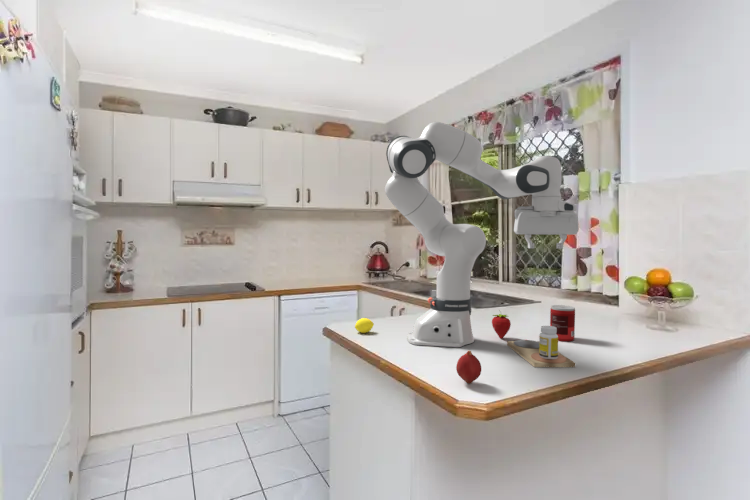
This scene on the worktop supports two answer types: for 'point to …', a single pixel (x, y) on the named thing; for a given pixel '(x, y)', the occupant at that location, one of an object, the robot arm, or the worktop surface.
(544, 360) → the board
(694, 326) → the worktop surface
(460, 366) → the onion
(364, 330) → the lemon
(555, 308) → the canned food
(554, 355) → the supplement bottle
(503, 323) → the strawberry
